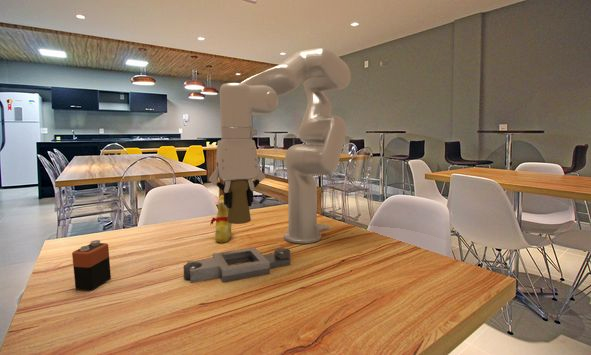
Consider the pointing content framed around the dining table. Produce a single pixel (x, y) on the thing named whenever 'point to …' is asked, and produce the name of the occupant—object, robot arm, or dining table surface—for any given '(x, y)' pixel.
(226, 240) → the chocolate bunny
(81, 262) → the battery
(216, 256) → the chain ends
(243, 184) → the cork
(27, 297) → the dining table surface
